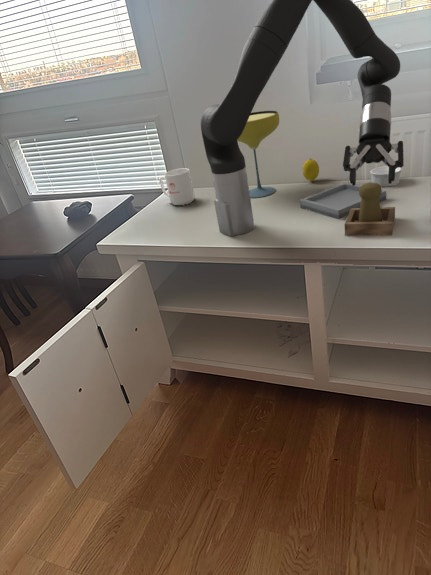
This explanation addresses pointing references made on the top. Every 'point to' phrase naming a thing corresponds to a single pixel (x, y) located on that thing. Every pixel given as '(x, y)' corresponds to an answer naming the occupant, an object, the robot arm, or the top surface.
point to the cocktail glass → (253, 135)
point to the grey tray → (336, 200)
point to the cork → (370, 203)
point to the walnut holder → (370, 223)
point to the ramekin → (384, 176)
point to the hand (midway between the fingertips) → (371, 183)
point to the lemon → (310, 169)
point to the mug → (178, 186)
